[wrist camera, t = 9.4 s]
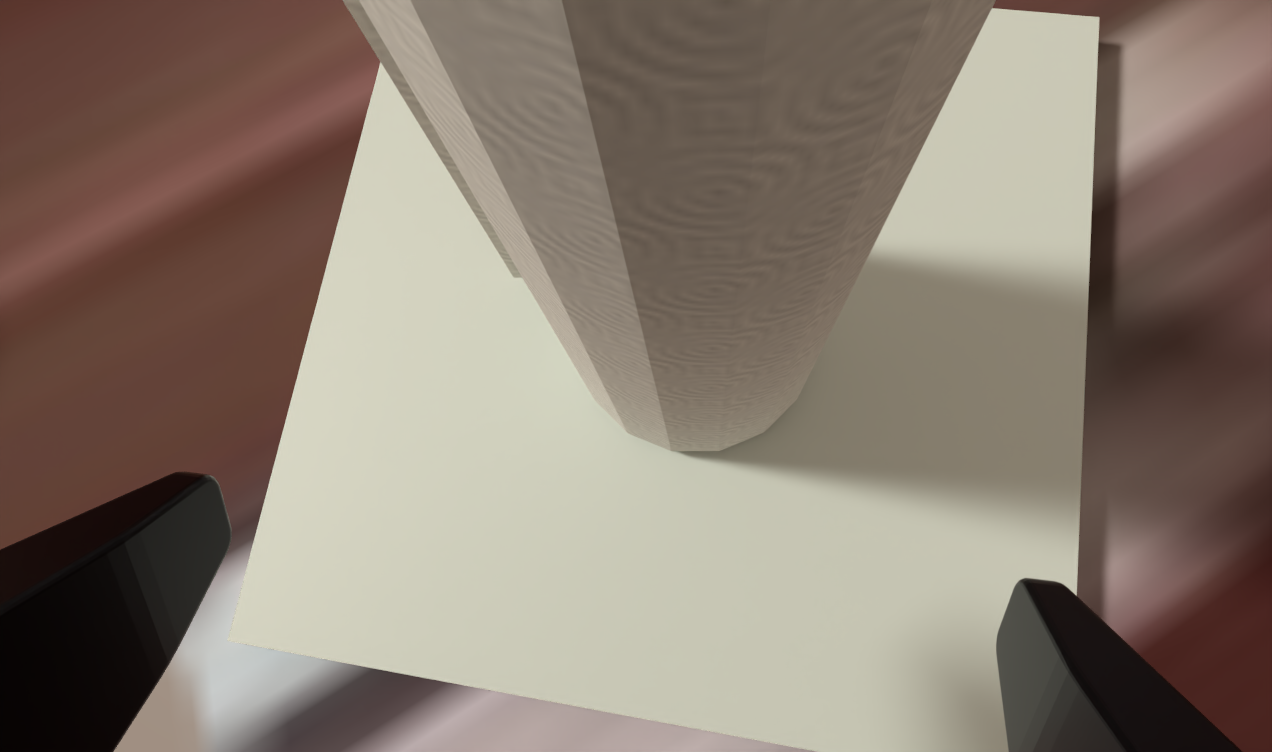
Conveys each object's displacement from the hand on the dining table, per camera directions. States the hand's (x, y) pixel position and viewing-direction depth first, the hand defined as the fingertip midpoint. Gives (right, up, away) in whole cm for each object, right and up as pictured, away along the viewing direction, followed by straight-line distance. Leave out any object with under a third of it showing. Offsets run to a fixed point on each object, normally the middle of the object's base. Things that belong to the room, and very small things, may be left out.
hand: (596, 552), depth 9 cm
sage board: (+2, +3, +13) cm, 14 cm away
